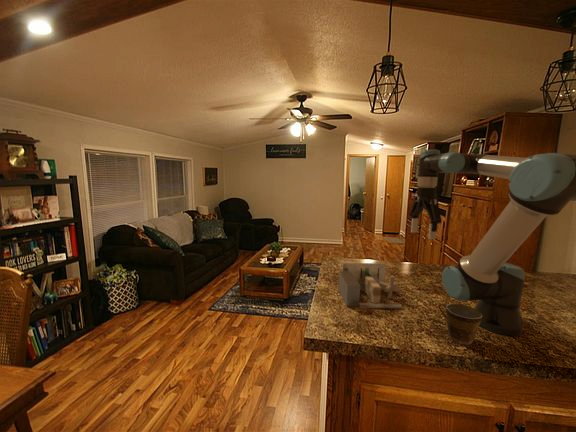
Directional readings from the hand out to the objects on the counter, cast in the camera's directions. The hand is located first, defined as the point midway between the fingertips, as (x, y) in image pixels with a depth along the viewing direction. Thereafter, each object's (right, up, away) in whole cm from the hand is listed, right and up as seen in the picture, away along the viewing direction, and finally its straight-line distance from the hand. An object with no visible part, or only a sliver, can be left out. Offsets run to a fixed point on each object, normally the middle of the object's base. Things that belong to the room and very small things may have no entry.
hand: (422, 235), depth 120 cm
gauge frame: (-25, -27, -1) cm, 37 cm away
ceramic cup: (-3, -32, -29) cm, 43 cm away
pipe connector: (-15, -27, -1) cm, 31 cm away
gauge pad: (-23, -26, 0) cm, 35 cm away
